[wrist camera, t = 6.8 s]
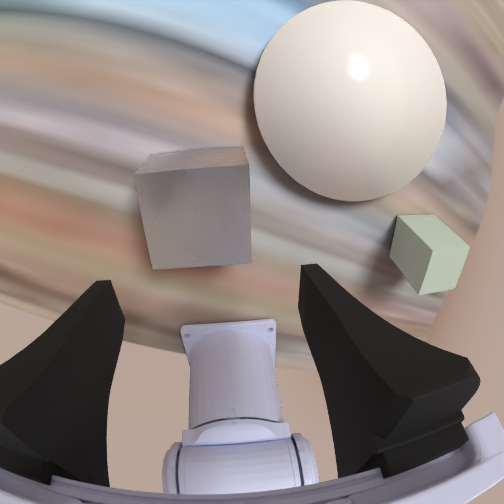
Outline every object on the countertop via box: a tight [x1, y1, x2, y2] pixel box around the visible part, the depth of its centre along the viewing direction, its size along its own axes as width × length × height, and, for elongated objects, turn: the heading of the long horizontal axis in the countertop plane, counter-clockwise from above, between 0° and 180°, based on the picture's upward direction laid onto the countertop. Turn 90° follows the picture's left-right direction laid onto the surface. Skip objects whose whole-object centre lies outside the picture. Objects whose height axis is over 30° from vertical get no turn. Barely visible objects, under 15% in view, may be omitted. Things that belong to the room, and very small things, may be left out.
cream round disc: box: [253, 1, 446, 201], centre depth 16 cm, size 13×13×1 cm
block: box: [389, 215, 470, 295], centre depth 20 cm, size 4×4×5 cm
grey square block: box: [134, 147, 252, 270], centre depth 17 cm, size 6×6×4 cm
